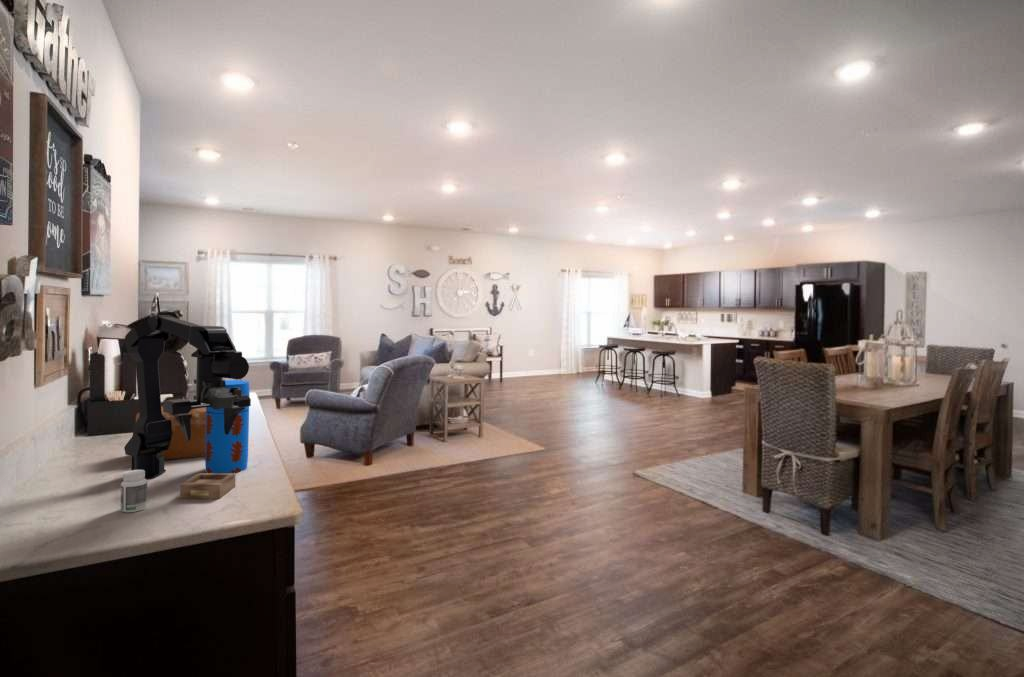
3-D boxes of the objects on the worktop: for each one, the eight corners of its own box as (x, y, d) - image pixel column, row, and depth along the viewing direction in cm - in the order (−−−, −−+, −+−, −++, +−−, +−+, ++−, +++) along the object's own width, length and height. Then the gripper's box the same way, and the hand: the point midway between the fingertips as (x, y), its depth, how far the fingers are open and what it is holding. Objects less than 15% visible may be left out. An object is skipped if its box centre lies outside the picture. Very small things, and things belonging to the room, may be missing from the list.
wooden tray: (179, 499, 123) (179, 484, 123) (198, 486, 132) (198, 473, 132) (219, 499, 124) (219, 484, 124) (235, 486, 133) (235, 473, 133)
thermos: (217, 477, 140) (219, 385, 139) (197, 469, 145) (198, 382, 145) (255, 468, 149) (257, 382, 148) (235, 461, 155) (236, 379, 154)
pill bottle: (151, 506, 117) (152, 470, 117) (131, 514, 113) (132, 476, 112) (135, 504, 119) (136, 468, 118) (115, 511, 114) (115, 473, 114)
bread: (234, 454, 163) (235, 405, 163) (131, 465, 147) (132, 411, 147) (227, 444, 174) (228, 398, 174) (131, 454, 158) (132, 404, 158)
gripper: (184, 382, 117) (182, 449, 118) (263, 376, 132) (261, 436, 133) (162, 377, 123) (161, 441, 124) (240, 372, 139) (238, 429, 139)
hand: (208, 437), depth 130 cm, fingers open, 9 cm apart
